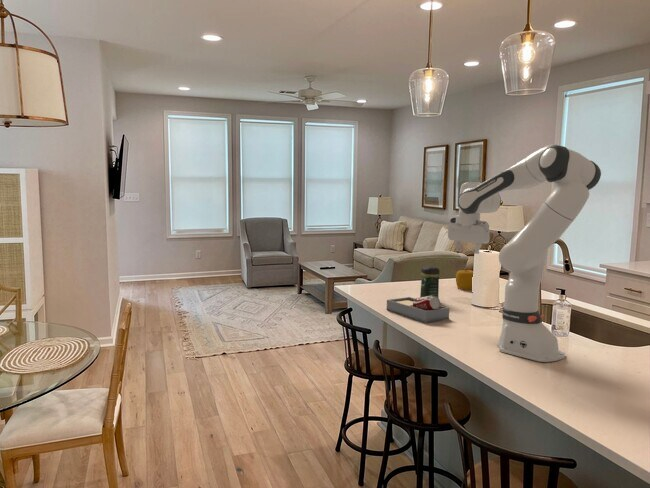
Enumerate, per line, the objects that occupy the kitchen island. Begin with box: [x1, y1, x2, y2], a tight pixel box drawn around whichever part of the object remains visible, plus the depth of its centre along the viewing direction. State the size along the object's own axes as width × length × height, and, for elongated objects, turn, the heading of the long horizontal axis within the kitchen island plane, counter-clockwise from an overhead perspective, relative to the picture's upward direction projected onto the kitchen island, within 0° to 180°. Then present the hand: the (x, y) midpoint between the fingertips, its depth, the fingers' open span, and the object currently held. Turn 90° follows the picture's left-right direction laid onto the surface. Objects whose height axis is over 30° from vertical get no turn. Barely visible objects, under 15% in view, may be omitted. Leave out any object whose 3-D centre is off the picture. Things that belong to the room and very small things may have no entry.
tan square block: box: [398, 300, 413, 307], centre depth 224 cm, size 9×9×3 cm
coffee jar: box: [419, 265, 441, 298], centre depth 242 cm, size 10×8×19 cm
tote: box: [386, 296, 450, 324], centre depth 219 cm, size 26×14×5 cm, turn 32°
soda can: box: [413, 295, 441, 311], centre depth 213 cm, size 7×7×12 cm
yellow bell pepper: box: [455, 269, 474, 291], centre depth 272 cm, size 11×11×13 cm
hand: (467, 252), depth 210 cm, fingers open, 8 cm apart
